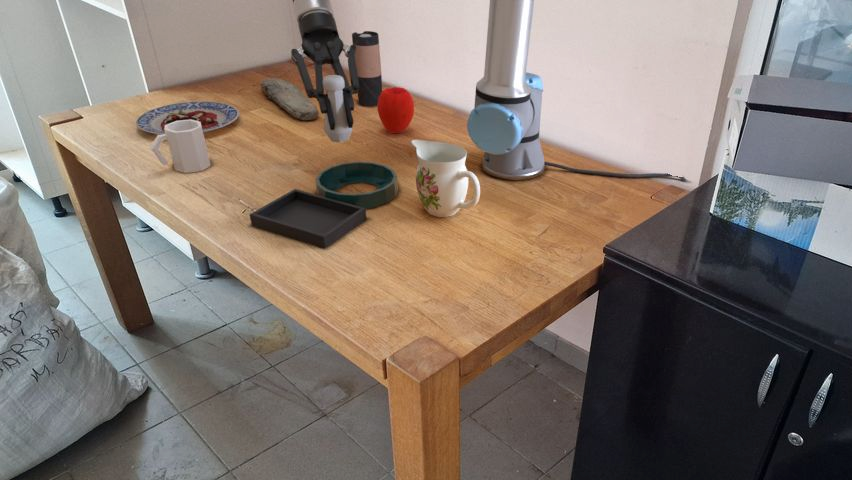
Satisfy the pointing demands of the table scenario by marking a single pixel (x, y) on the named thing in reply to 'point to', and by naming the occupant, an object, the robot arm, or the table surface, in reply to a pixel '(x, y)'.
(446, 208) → the pitcher
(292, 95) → the elongated rock
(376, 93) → the travel mug
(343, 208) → the tray
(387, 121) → the red vase
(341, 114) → the salt shaker
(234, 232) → the table surface
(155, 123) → the ceramic plate
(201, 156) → the mug
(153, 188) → the table surface
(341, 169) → the teal ring
